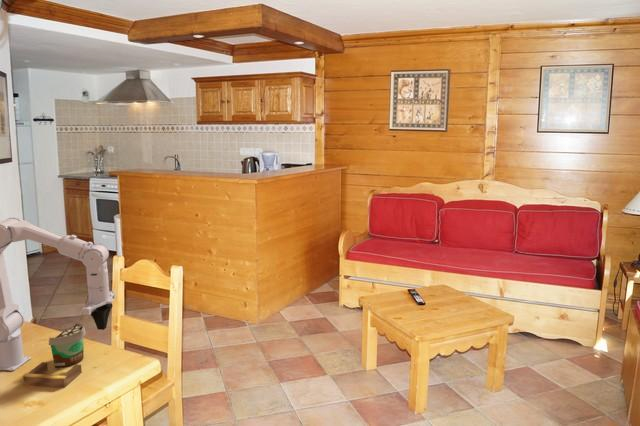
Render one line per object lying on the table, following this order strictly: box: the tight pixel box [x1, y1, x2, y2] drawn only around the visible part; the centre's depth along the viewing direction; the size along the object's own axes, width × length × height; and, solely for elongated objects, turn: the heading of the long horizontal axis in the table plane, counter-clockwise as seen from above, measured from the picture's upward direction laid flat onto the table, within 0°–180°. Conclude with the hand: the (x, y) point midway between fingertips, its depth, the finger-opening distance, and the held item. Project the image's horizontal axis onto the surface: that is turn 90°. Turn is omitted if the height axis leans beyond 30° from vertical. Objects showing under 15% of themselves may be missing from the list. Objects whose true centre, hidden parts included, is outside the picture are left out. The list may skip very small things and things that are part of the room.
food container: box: [48, 321, 86, 369], centre depth 152 cm, size 12×6×10 cm, turn 168°
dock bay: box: [22, 361, 83, 389], centre depth 143 cm, size 12×8×3 cm
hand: (102, 328), depth 151 cm, fingers closed
